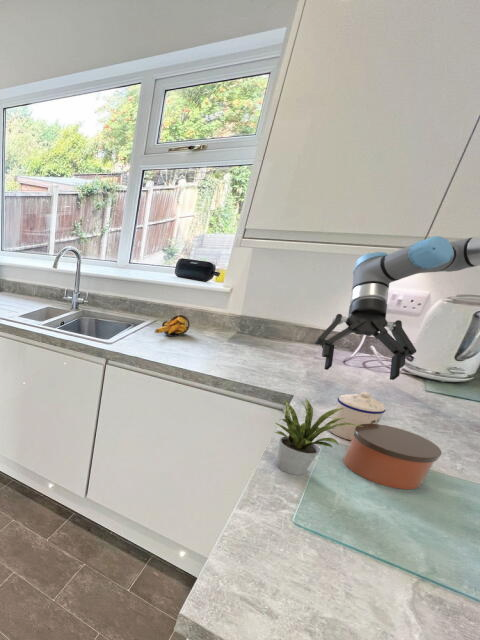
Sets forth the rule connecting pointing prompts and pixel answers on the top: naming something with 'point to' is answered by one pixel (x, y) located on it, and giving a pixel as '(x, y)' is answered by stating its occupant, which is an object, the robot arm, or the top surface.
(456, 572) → the top surface
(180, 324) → the fried shrimp in bowl
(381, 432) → the storage jar
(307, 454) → the house plant
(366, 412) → the teacup with lid
